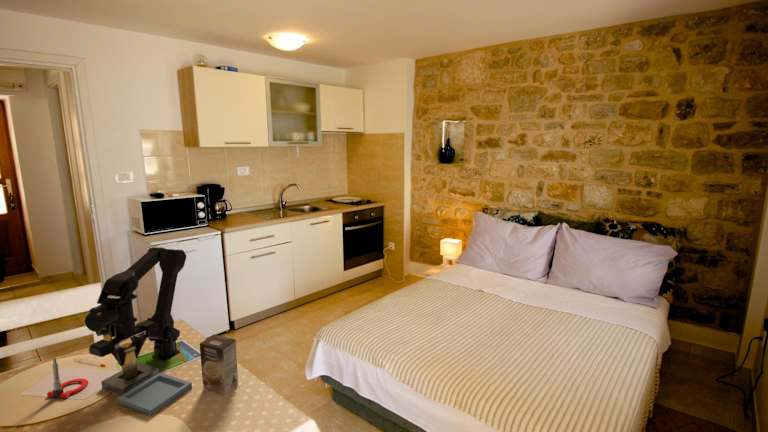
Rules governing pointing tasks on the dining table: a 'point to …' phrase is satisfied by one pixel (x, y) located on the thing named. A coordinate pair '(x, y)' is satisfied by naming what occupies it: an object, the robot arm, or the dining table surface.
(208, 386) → the coffee box
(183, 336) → the dining table surface
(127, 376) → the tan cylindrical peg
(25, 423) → the dining table surface
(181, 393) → the tray
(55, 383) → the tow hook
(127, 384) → the block
